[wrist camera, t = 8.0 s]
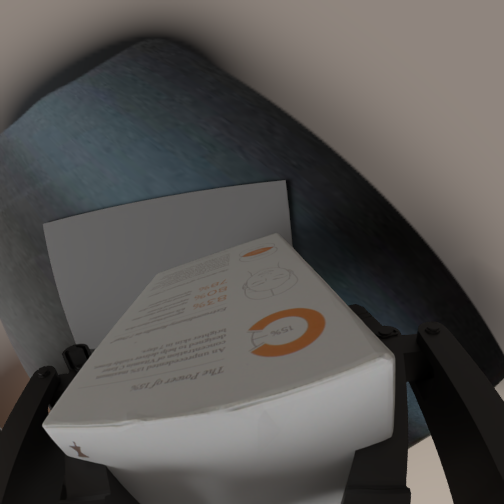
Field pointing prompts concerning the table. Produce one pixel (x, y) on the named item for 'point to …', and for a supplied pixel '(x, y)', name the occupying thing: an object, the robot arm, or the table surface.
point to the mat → (151, 246)
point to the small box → (231, 385)
